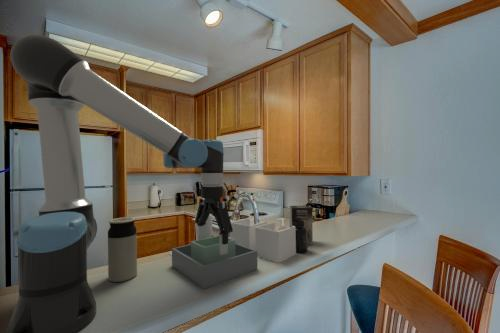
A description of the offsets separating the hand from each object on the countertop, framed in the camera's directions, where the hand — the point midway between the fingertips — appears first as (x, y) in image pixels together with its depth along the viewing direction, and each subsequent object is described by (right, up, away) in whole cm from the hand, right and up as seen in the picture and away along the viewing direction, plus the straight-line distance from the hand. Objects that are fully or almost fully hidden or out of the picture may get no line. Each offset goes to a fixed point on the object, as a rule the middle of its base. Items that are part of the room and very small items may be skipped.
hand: (212, 248), depth 83 cm
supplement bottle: (+32, -6, +15) cm, 36 cm away
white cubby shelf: (+17, -7, +16) cm, 24 cm away
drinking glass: (-6, -7, +15) cm, 17 cm away
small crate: (0, -5, 0) cm, 5 cm away
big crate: (0, -6, 0) cm, 6 cm away
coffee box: (+35, -6, +25) cm, 44 cm away
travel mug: (-27, -7, -6) cm, 29 cm away
